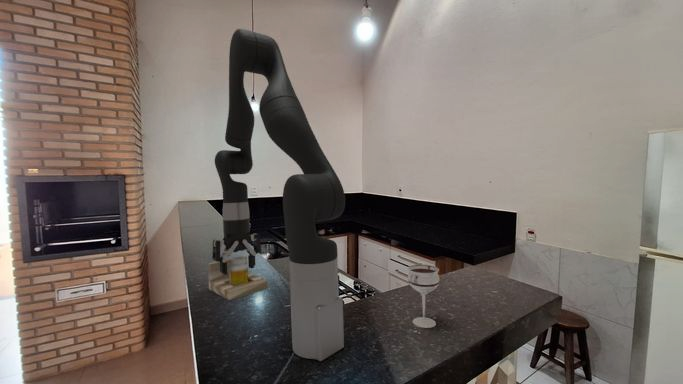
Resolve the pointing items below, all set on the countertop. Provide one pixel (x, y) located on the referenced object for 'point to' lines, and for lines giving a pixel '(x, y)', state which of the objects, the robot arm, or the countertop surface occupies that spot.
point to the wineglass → (423, 288)
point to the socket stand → (224, 289)
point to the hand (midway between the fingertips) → (238, 270)
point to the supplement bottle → (238, 271)
